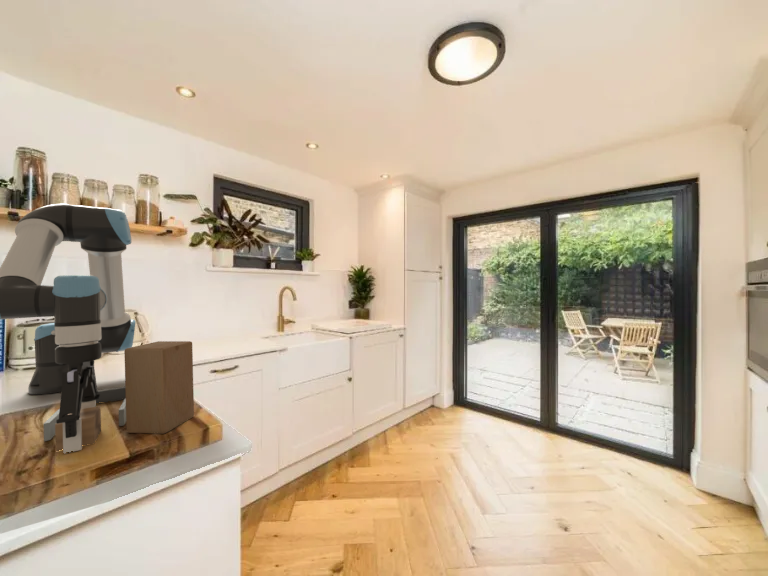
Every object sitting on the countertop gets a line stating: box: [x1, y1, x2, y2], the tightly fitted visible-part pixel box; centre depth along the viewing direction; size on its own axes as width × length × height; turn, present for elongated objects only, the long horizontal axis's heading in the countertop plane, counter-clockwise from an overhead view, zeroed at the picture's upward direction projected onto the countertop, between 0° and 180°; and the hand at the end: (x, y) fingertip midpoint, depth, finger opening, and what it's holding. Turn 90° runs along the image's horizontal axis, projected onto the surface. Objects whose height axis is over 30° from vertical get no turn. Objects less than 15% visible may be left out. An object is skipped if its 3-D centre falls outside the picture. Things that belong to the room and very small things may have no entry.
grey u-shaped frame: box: [43, 386, 126, 442], centre depth 85 cm, size 26×14×4 cm, turn 33°
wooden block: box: [124, 340, 195, 435], centre depth 78 cm, size 10×10×20 cm
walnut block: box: [54, 405, 102, 452], centre depth 70 cm, size 8×6×6 cm
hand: (81, 438), depth 70 cm, fingers open, 12 cm apart
